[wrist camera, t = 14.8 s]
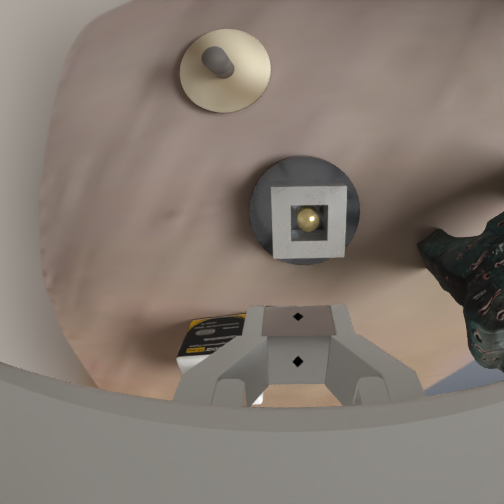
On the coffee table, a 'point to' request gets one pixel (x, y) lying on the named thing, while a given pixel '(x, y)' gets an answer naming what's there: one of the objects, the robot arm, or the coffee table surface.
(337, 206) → the square tunnel block
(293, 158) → the hub
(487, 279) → the bull figurine
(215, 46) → the stand
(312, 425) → the robot arm
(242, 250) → the coffee table surface
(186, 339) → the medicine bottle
